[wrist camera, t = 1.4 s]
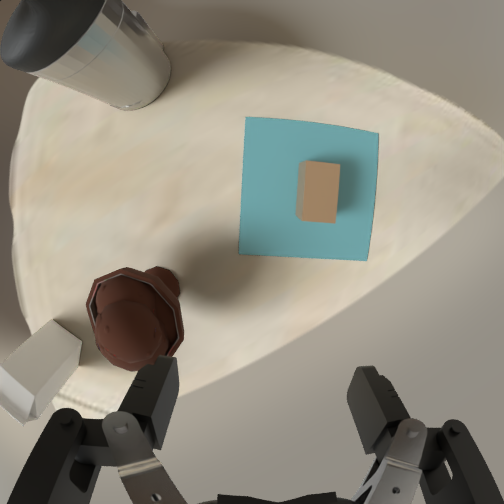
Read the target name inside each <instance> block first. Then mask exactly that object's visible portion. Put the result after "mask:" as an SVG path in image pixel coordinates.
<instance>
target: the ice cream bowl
mask: <svg viewBox="0 0 504 504" xmlns="http://www.w3.org/2000/svg"><path fill="white" fill-rule="evenodd" d="M179 294H180V290H179V282H178V280H177V279H176V277H175V276H174V275H173V274H172V273H171V272H170V270H167V269H164V268H160V267H157V266H156V267H154V268H151V269H149V270H146V271H145V272H142V271H139V270H135V269H132V268H128V267H125V268H122V269H119V270H116V271H114V272H112V273H109V274H107V275H104V276H102V277H100V278H97V279H95V280H94V283H93V285H92V288H91V291H90V294H89V296H88V299H87V302H86V307H87V311H88V315H89V318H90V321H91V325H92V328H93V331H94V333H95V339H96V345H97V347H98V349H99V350H100V351H101V353H102V354H103V355H104V356H105V357H106V358H107V359H108V360H109V361H110V362H111V363H112V364H113V365H115V366H118V367H120V368H123V369H125V370H128V371H139V370H140V369H141V368H142V367H144V366H145V365H146V364H150V365H154V364H155V362H156V360H157V358H158V356H159V355H164V356H170V357H172V356H173V355H174V353H175V352H176V350H177V349H178V347H179V346H180V344H181V343H182V342H183V340H184V327H183V321H182V315H181V309H180V303H179V300H178V298H177V297H178V296H179Z"/></svg>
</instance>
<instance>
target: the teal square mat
mask: <svg viewBox="0 0 504 504" xmlns="http://www.w3.org/2000/svg"><path fill="white" fill-rule="evenodd" d="M377 163H378V133H373V132H368V131H363V130H358V129H353V128H347V127H341V126H335V125H328V124H321V123H314V122H305V121H296V120H286V119H273V118H258V117H246V120H245V137H244V155H243V173H242V193H241V214H240V236H239V254H245V255H263V256H282V257H300V258H319V259H339V260H358V261H367V257H368V250H369V244H370V236H371V229H372V221H373V212H374V203H375V192H376V179H377Z"/></svg>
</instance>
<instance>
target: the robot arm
mask: <svg viewBox="0 0 504 504" xmlns="http://www.w3.org/2000/svg"><path fill="white" fill-rule="evenodd" d="M0 1H1V0H0ZM163 48H164V45H163V44H162V43H161V41H160V40H159V39H158V38H157V36H156V35H155V34H154V32H153V31H152V30H151V28H150V27H149V26H148V25H147V23H146V22H145V21H144V19H143V18H142V17H141V15H140V14H139V13H138V12H137V11H130V10H129V9H128V7H127V6H126V5H125V4H124V3H123V2H122V0H21V2H20V3H19V5H18V6H17V8H16V9H15V11H14V12H13V14H12V16H11V18H10V20H9V22H8V23H7V26H6V28H5V31H4V34H3V37H2V41H1V47H0V53H1V58H2V60H3V62H4V63H5V64H6V65H8V66H10V67H12V68H14V69H17V70H21V71H24V72H27V73H29V74H33V75H35V76H38V77H41V78H44V79H47V80H50V81H52V82H55V83H58V84H60V85H63V86H66V87H68V88H71V89H73V90H76V91H78V92H81V93H83V94H86V95H88V96H91V97H93V98H95V99H98V100H100V101H102V102H105V103H107V104H109V105H110V106H113V107H116V108H118V109H122V110H135V109H139V108H142V107H144V106H146V105H148V104H149V103H151V102H152V101H154V100H155V99H156V98H157V97H158V96H159V95H160V94H161V93H162V91H163V90H164V88H165V87H166V85H167V83H168V80H169V78H170V72H171V66H170V62H169V59H168V57H167V56H166V55H165V53H164V52H163ZM178 392H179V376H178V366H177V359H176V357H170V356H164V355H159V356H158V358H157V360H156V362H155V364H154V365H150V364H146V365H145V366H144V367H142V368H141V369H140V370H139V371H138V373H137V375H136V377H135V380H133V382H132V384H131V386H130V388H129V390H128V392H127V394H126V396H125V398H124V399H123V401H122V403H121V405H120V407H119V409H118V411H117V412H112V413H110V414H108V415H107V416H106V417H105V418H104V419H85V418H82V417H81V415H80V414H79V413H78V412H77V411H76V410H74V409H71V408H62V409H59V410H57V411H56V412H55V413H53V415H52V417H51V418H50V420H49V422H48V423H47V425H46V427H45V428H44V430H43V432H42V434H41V435H40V438H39V439H38V441H37V443H36V444H35V446H34V448H33V450H32V452H31V454H30V456H29V458H28V460H27V462H26V464H25V465H24V467H23V470H22V472H21V474H20V476H19V478H18V480H17V482H16V484H15V486H14V489H13V491H12V493H11V495H10V498H9V500H8V502H7V504H89V503H90V499H91V496H92V493H93V490H94V487H95V484H96V481H97V478H98V475H99V472H100V469H101V466H117V468H118V473H119V476H120V478H121V480H122V483H123V485H124V487H125V489H126V491H127V493H128V495H129V497H130V499H131V501H132V503H133V504H187V502H186V501H185V499H184V498H183V496H182V495H181V494H180V492H179V491H178V489H177V488H176V486H175V485H174V483H173V481H172V480H171V479H170V477H169V475H168V474H167V472H166V470H165V469H164V467H163V466H162V464H161V462H160V461H159V460H158V459H157V458H156V456H155V454H154V453H153V449H158V450H161V448H162V445H163V442H164V438H165V435H166V432H167V428H168V425H169V422H170V418H171V415H172V412H173V409H174V406H175V403H176V399H177V396H178ZM347 402H348V405H349V408H350V410H351V413H352V416H353V419H354V422H355V424H356V427H357V430H358V433H359V436H360V439H361V442H362V444H363V448H364V450H365V454H371V453H375V454H376V458H375V459H374V461H373V463H372V465H371V467H370V469H369V471H368V473H367V475H366V477H365V478H364V480H363V482H362V484H361V486H360V488H359V489H358V491H357V492H356V494H355V495H354V496H353V498H352V499H351V500H348V499H344V498H337V497H336V492H329V493H321V494H311V495H306V496H302V497H299V498H296V499H292V500H288V501H284V502H272V501H267V500H262V499H257V498H252V497H248V496H232V495H221V494H218V497H217V500H213V501H207V502H202V503H199V504H411V503H412V500H413V498H414V495H415V492H416V489H417V486H418V484H420V487H421V490H422V492H423V496H424V499H425V502H426V504H504V501H503V498H502V496H501V494H500V491H499V489H498V487H497V485H496V483H495V480H494V478H493V476H492V474H491V472H490V470H489V468H488V466H487V464H486V462H485V460H484V458H483V456H482V455H481V453H480V451H479V449H478V447H477V445H476V444H475V442H474V440H473V438H472V436H471V435H470V433H469V431H468V429H467V428H466V426H465V425H464V424H463V423H462V422H461V421H459V420H454V419H452V420H448V421H446V422H445V423H444V425H443V426H442V428H426V426H425V424H424V423H423V422H421V421H420V420H417V419H414V418H410V416H409V414H408V412H407V410H406V408H405V407H404V405H403V403H402V401H401V399H400V398H399V397H398V394H397V392H396V391H395V389H394V387H393V386H392V384H391V382H390V381H389V380H388V379H387V378H385V377H384V376H383V375H379V374H378V372H377V370H376V368H375V367H374V366H360V367H357V368H356V370H355V373H354V376H353V378H352V381H351V383H350V386H349V389H348V392H347ZM446 460H447V462H448V464H449V466H450V468H451V471H452V473H453V477H452V480H451V477H450V475H449V473H448V470H447V468H446V466H445V463H444V462H445V461H446Z"/></svg>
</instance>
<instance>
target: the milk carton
mask: <svg viewBox="0 0 504 504" xmlns="http://www.w3.org/2000/svg"><path fill="white" fill-rule="evenodd" d="M81 346H82V341H81V340H79V339H78V338H77V337H75V336H74V335H72V334H71V333H70V332H68V331H67V330H66V329H64V328H63V327H62V326H60V325H59V324H58V323H56V322H55V321H54V320H52V319H51V320H50V321H49V322H48V323H46V324H45V325H44V326H43V327H42V328H40V329H39V330H38V331H37V332H36V333H34V334H33V335H32V336H31V337H30V338H29V339H28V340H26V341H25V342H24V343H23V344H22V345H21V346H20V347H19V348H17V349H16V350H15V351H14V352H13V353H12V354H11V355H10V356H9V357H7V358H6V359H5V360H4V361H3V362H2V363H1V364H0V406H1V407H2V408H3V409H4V410H6V412H8V413H9V414H10V415H11V416H12V417H13V418H14V419H15V420H17V421H18V422H19V423H20V424H21V425H22V426H24V425H25V423H26V422H28V421H32V420H37V419H38V418H39V417H40V415H41V414H42V413H43V411H44V410H45V409H46V407H47V406H48V405H49V403H50V402H51V401H52V399H53V398H54V397H55V395H56V394H57V393H58V392H59V390H60V389H61V388H62V386H63V385H64V384H65V383H66V381H67V380H68V379H69V378H70V376H71V375H72V374H73V373H74V371H75V370H76V369H77V368H78V364H79V358H80V352H81Z"/></svg>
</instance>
